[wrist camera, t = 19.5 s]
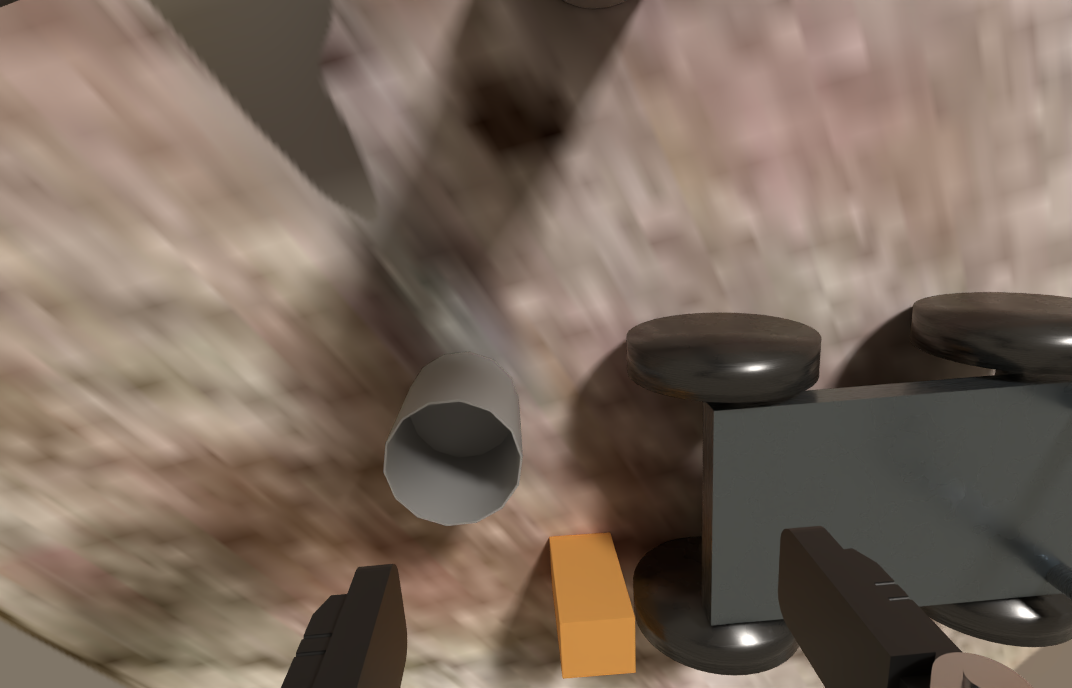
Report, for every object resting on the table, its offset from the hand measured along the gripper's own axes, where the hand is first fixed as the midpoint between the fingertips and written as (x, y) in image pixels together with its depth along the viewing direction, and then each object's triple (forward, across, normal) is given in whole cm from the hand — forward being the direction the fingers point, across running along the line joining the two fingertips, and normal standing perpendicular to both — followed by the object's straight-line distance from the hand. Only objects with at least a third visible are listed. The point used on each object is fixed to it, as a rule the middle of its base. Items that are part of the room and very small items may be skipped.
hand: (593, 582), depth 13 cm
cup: (+33, -6, -8) cm, 35 cm away
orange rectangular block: (+33, +3, -23) cm, 40 cm away
